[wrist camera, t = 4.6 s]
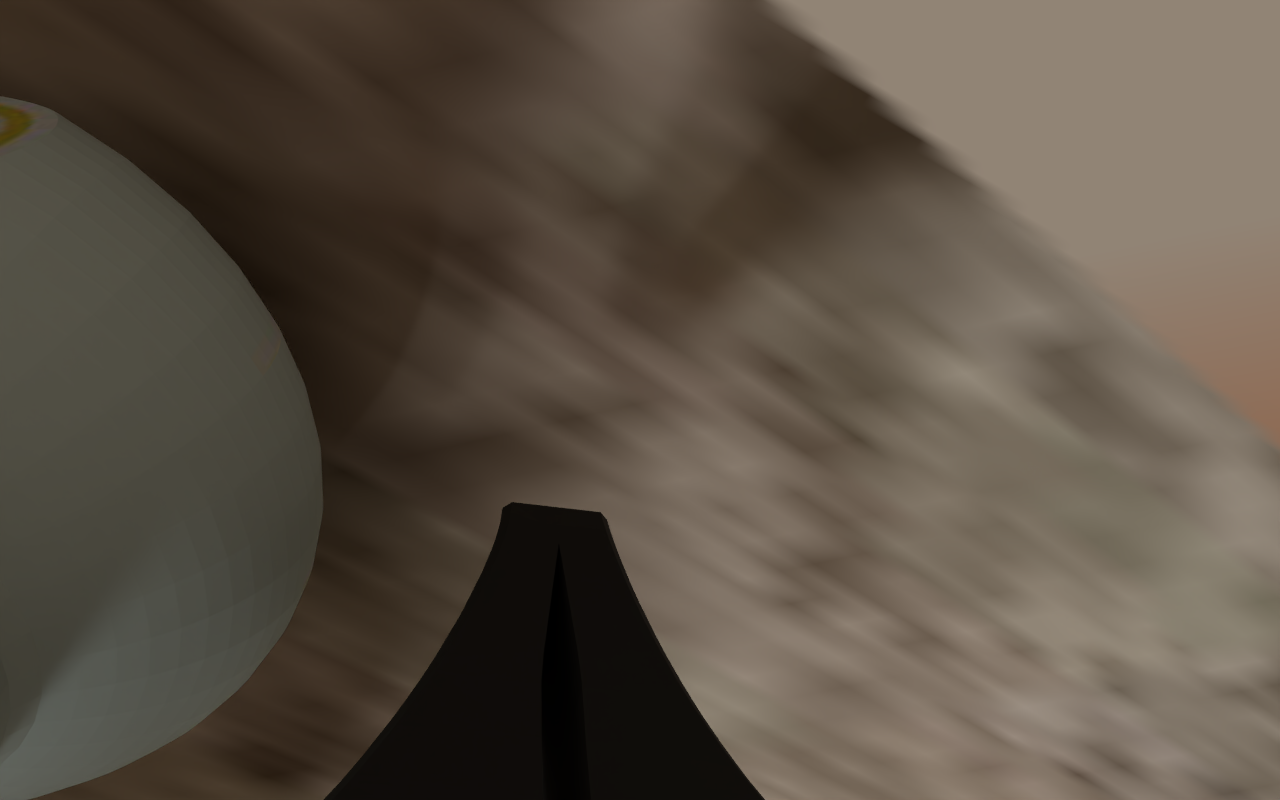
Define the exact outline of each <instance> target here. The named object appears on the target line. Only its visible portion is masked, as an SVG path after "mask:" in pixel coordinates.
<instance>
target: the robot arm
mask: <svg viewBox="0 0 1280 800" xmlns="http://www.w3.org/2000/svg"><path fill="white" fill-rule="evenodd" d="M324 800H765V799H764V798H763V797H762V796H761V794H760V793H759V792H758V791H757V790H756V788H755V787H754V786H753V785H752V784H751V783H750V781H749V780H748V779H747V777H746V776H745V775H744V774H743V772H742V771H741V769H740V768H739V767H738V765H737V764H736V763H735V761H734V760H733V759H732V757H731V756H730V755H729V753H728V752H727V751H726V749H725V748H724V747H723V745H722V744H721V742H720V741H719V739H718V738H717V736H716V735H715V734H714V732H713V731H712V729H711V728H710V726H709V725H708V723H707V722H706V720H705V719H704V718H703V716H702V714H701V713H700V711H699V710H698V708H697V707H696V705H695V704H694V702H693V700H692V699H691V697H690V696H689V694H688V692H687V691H686V689H685V687H684V686H683V684H682V682H681V681H680V679H679V677H678V675H677V674H676V672H675V670H674V668H673V667H672V665H671V663H670V661H669V660H668V658H667V656H666V654H665V652H664V651H663V649H662V647H661V645H660V643H659V641H658V639H657V638H656V636H655V634H654V631H653V629H652V627H651V625H650V623H649V621H648V619H647V617H646V615H645V613H644V611H643V609H642V607H641V605H640V603H639V601H638V599H637V597H636V594H635V592H634V590H633V588H632V586H631V583H630V581H629V579H628V576H627V574H626V571H625V569H624V567H623V564H622V562H621V559H620V557H619V554H618V552H617V549H616V546H615V543H614V541H613V538H612V535H611V532H610V529H609V525H608V522H607V519H606V518H605V517H604V516H603V515H602V513H601V512H593V511H584V510H576V509H567V508H558V507H549V506H540V505H532V504H523V503H514V502H512V503H510V504H508V505H507V506H505V507H503V509H502V515H501V522H500V526H499V529H498V533H497V536H496V539H495V542H494V545H493V547H492V550H491V552H490V555H489V557H488V560H487V562H486V564H485V567H484V569H483V571H482V573H481V575H480V577H479V579H478V581H477V583H476V585H475V587H474V589H473V591H472V593H471V595H470V597H469V599H468V601H467V603H466V605H465V607H464V609H463V611H462V613H461V615H460V616H459V618H458V620H457V622H456V623H455V625H454V627H453V628H452V630H451V632H450V633H449V635H448V637H447V638H446V640H445V642H444V643H443V645H442V646H441V648H440V650H439V651H438V653H437V655H436V656H435V658H434V660H433V661H432V663H431V664H430V666H429V667H428V669H427V670H426V672H425V673H424V675H423V676H422V678H421V679H420V681H419V682H418V684H417V685H416V687H415V688H414V689H413V691H412V692H411V694H410V695H409V696H408V698H407V699H406V700H405V702H404V703H403V705H402V706H401V707H400V709H399V710H398V712H397V713H396V714H395V716H394V717H393V718H392V720H391V721H390V722H389V723H388V725H387V726H386V727H385V728H384V730H383V731H382V732H381V733H380V735H379V736H378V737H377V738H376V740H375V741H374V742H373V743H372V745H371V746H370V747H369V748H368V750H367V751H366V752H365V754H364V755H363V756H362V757H361V758H360V760H359V761H358V762H357V763H356V764H355V765H354V767H353V768H352V769H351V770H350V771H349V772H348V774H347V775H346V776H345V777H344V778H343V779H342V781H341V782H340V783H339V784H338V785H337V786H336V787H335V788H334V789H333V790H332V791H331V792H330V793H329V795H328V796H327V797H326V798H325V799H324Z"/></svg>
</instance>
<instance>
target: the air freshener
mask: <svg viewBox="0 0 1280 800" xmlns="http://www.w3.org/2000/svg"><path fill="white" fill-rule="evenodd" d="M322 514H323V488H322V464H321V446H320V442H319V438H318V434H317V430H316V426H315V422H314V418H313V414H312V410H311V406H310V402H309V398H308V394H307V390H306V387H305V383H304V381H303V379H302V377H301V375H300V372H299V370H298V368H297V366H296V364H295V361H294V359H293V357H292V355H291V353H290V350H289V348H288V346H287V344H286V342H285V339H284V337H283V335H282V333H281V331H280V329H279V327H278V325H277V323H276V322H275V320H274V319H273V317H272V316H271V314H270V313H269V311H268V310H267V308H266V307H265V305H264V304H263V302H262V301H261V299H260V298H259V296H258V295H257V293H256V292H255V290H254V289H253V287H252V286H251V284H250V283H249V281H248V280H247V278H246V277H245V275H244V274H243V272H242V271H241V269H240V268H239V266H238V265H237V264H236V263H235V262H234V261H233V260H232V259H231V258H230V256H229V255H228V254H227V253H226V252H225V251H224V250H223V249H222V247H221V246H220V245H219V244H218V243H217V242H216V241H215V240H214V239H213V237H212V236H211V235H210V234H209V233H208V232H207V231H206V230H205V229H204V227H203V226H202V225H201V224H200V223H199V222H198V221H197V220H196V219H195V217H194V216H193V215H192V214H191V213H190V212H189V211H188V210H187V209H186V208H184V207H183V206H182V205H181V204H180V203H178V202H177V201H176V200H175V199H174V198H173V197H171V196H170V195H169V194H168V193H167V192H166V191H164V190H163V189H162V188H161V187H160V186H159V185H157V184H156V183H155V182H154V181H153V180H152V179H150V178H149V177H148V176H147V175H146V174H145V173H143V172H142V171H141V170H140V169H139V168H138V167H136V166H135V165H134V164H133V163H132V162H131V161H129V160H128V159H127V158H125V157H123V156H122V155H120V154H119V153H117V152H116V151H114V150H113V149H111V148H110V147H108V146H107V145H105V144H104V143H102V142H101V141H99V140H98V139H96V138H95V137H93V136H92V135H90V134H89V133H87V132H86V131H84V130H83V129H81V128H80V127H78V126H77V125H75V124H73V123H72V122H70V121H69V120H67V119H66V118H64V117H63V116H61V115H60V114H58V113H57V112H55V111H53V110H51V109H49V108H47V107H43V106H40V105H37V104H34V103H31V102H27V101H22V100H18V99H13V98H8V97H2V96H0V800H29V799H33V798H37V797H40V796H43V795H46V794H49V793H52V792H55V791H58V790H62V789H65V788H68V787H71V786H74V785H77V784H80V783H84V782H86V781H89V780H92V779H95V778H98V777H100V776H103V775H106V774H108V773H110V772H113V771H115V770H117V769H119V768H122V767H124V766H126V765H128V764H130V763H132V762H134V761H136V760H138V759H140V758H142V757H144V756H146V755H148V754H150V753H152V752H154V751H155V750H157V749H159V748H161V747H163V746H164V745H166V744H168V743H170V742H171V741H173V740H175V739H176V738H178V737H180V736H181V735H183V734H185V733H187V732H188V731H190V730H191V729H192V728H193V727H195V726H196V725H197V724H199V723H200V722H201V721H202V720H204V719H205V718H206V717H207V716H208V715H210V714H211V713H212V712H213V711H214V710H215V709H217V708H218V707H219V706H220V705H221V704H222V703H224V702H225V701H226V700H227V699H228V698H229V697H231V696H232V695H233V694H234V693H235V692H236V691H237V690H238V689H239V688H240V687H241V686H242V685H243V684H244V683H245V682H246V681H247V680H248V679H249V678H250V677H251V675H252V674H253V673H254V671H255V670H256V669H257V667H258V666H259V665H260V663H261V662H262V661H263V660H264V658H265V657H266V656H267V654H268V653H269V652H270V650H271V649H272V648H273V646H274V645H275V644H276V642H277V641H278V640H279V638H280V637H281V636H282V634H283V633H284V631H285V629H286V628H287V626H288V624H289V622H290V620H291V618H292V616H293V613H294V611H295V609H296V607H297V604H298V602H299V600H300V598H301V595H302V593H303V591H304V589H305V587H306V584H307V582H308V580H309V577H310V574H311V571H312V568H313V564H314V558H315V553H316V548H317V542H318V537H319V532H320V526H321V521H322Z"/></svg>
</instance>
